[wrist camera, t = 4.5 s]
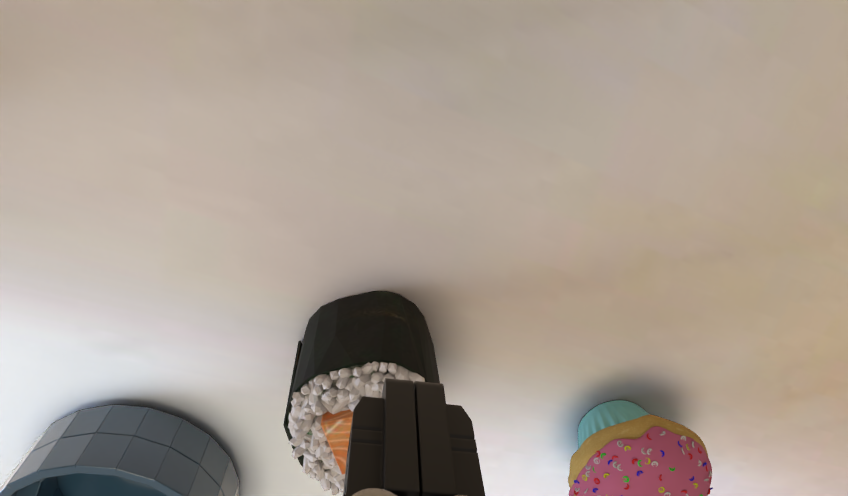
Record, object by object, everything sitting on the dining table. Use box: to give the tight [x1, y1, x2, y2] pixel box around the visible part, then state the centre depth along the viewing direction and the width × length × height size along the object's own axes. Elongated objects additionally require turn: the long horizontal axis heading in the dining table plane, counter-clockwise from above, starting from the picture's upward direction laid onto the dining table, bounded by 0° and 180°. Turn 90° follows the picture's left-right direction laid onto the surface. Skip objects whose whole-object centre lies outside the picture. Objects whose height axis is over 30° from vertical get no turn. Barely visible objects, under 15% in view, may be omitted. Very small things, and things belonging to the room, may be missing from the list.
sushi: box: [284, 291, 440, 495], centre depth 32 cm, size 8×8×8 cm
